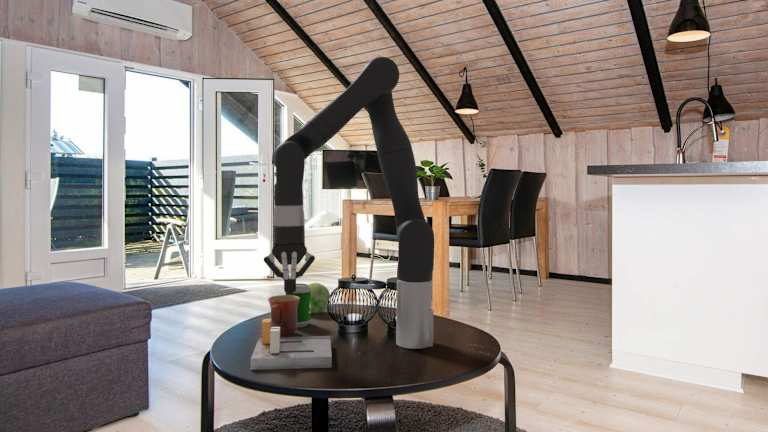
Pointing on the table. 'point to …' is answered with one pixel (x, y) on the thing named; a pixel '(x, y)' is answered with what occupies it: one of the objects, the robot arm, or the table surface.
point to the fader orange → (266, 330)
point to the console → (294, 354)
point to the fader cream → (275, 340)
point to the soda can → (303, 304)
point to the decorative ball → (318, 297)
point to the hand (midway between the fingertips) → (290, 293)
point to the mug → (284, 313)
